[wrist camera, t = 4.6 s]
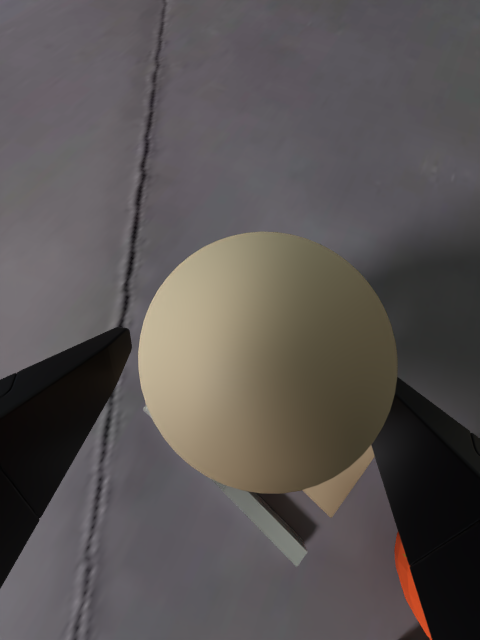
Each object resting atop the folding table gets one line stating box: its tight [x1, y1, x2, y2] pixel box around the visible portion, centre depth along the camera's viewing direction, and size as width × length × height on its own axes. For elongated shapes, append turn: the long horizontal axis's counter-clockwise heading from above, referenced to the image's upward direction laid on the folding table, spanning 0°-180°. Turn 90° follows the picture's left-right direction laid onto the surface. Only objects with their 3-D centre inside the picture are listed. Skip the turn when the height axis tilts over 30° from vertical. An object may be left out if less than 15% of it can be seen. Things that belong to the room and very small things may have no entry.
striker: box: [138, 232, 397, 518], centre depth 10 cm, size 11×5×15 cm, turn 48°
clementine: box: [395, 532, 432, 640], centre depth 13 cm, size 8×7×7 cm
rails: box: [143, 405, 307, 567], centre depth 17 cm, size 13×12×1 cm
